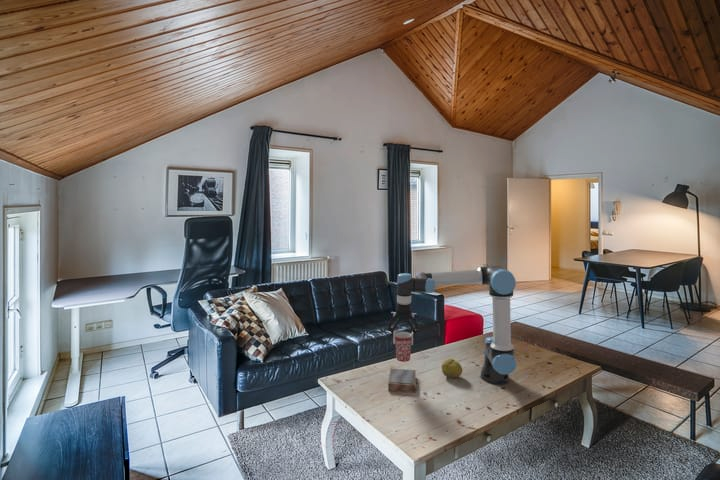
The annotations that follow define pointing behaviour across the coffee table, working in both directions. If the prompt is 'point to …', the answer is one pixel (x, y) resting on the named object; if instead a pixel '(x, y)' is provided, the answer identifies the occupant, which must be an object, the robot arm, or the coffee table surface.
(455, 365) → the fruit
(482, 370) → the robot arm
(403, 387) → the stand
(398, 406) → the coffee table surface
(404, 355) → the mug
